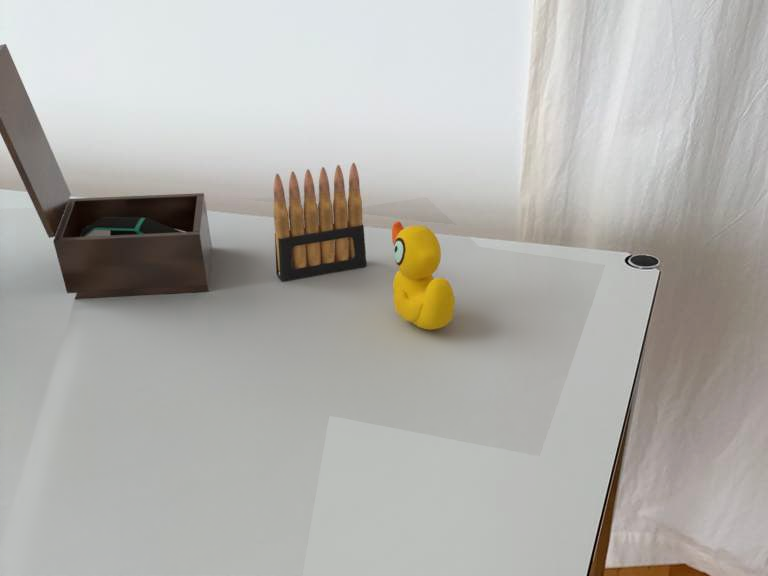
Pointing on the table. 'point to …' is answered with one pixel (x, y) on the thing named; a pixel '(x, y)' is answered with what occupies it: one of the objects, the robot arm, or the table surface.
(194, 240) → the case
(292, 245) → the ammunition clip
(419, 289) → the duckling
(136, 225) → the toy car
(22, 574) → the table surface
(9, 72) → the case lid
